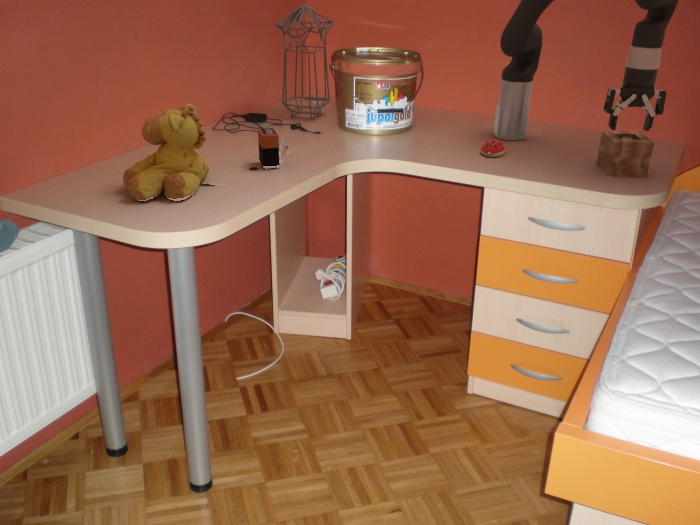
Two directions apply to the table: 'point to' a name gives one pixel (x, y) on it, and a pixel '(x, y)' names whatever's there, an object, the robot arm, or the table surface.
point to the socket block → (624, 153)
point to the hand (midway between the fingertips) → (629, 130)
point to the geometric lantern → (294, 18)
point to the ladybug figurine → (493, 148)
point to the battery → (268, 146)
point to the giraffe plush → (170, 156)
